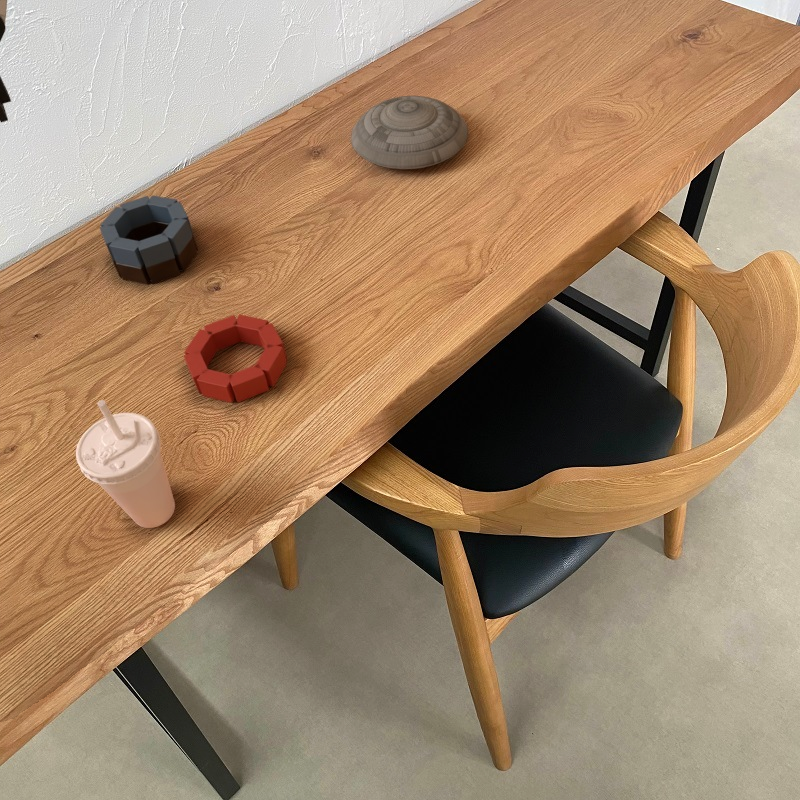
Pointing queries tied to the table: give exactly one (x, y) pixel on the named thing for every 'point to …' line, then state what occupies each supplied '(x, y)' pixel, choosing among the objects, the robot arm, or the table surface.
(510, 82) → the table surface
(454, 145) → the flying saucer
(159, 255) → the ring middle
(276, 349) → the ring top
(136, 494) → the smoothie
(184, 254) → the ring bottom
